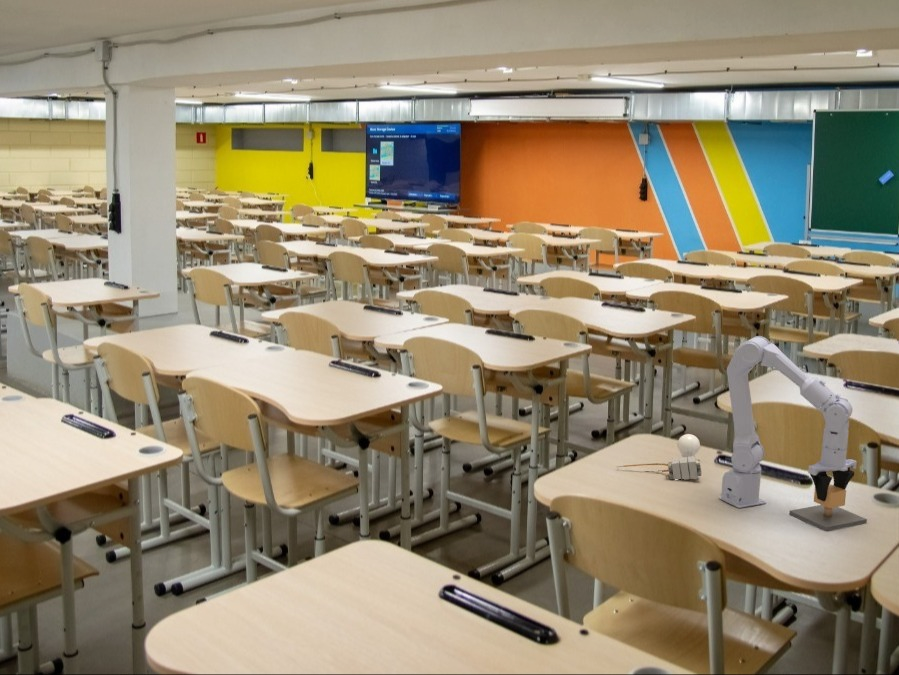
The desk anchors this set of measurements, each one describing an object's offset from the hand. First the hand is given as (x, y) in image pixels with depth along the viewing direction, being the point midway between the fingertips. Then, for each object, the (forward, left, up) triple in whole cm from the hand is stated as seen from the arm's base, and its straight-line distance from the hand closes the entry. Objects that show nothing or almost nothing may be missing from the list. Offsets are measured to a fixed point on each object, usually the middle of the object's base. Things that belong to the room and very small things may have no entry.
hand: (829, 498), depth 235 cm
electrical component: (-20, +44, -6) cm, 48 cm away
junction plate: (0, 0, -6) cm, 6 cm away
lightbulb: (-9, +44, -6) cm, 45 cm away
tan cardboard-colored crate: (0, 0, -1) cm, 1 cm away
